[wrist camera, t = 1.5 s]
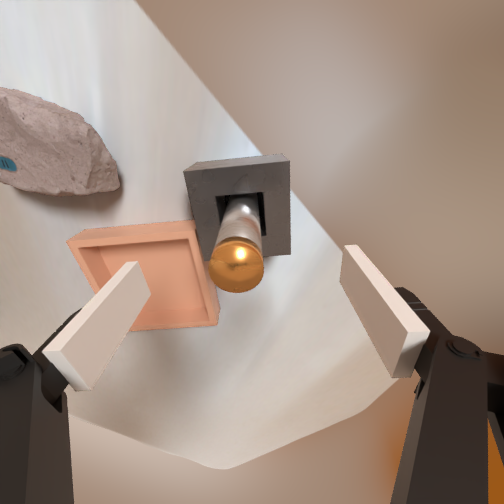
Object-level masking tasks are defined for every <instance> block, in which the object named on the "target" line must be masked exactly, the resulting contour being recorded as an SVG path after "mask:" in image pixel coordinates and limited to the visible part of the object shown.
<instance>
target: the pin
mask: <svg viewBox="0 0 504 504" xmlns="http://www.w3.org/2000/svg"><path fill="white" fill-rule="evenodd" d="M208 272H209V276H210V278H211V280H212V281H213V283H214V284H215V285H216V286H218V287H219V288H221V289H223V290H225V291H228V292H232V293H241V292H246V291H249V290H251V289H253V288H254V287H256V286H257V285H258V284H259V283H260V281H261V279H262V277H263V273H264V267H263V255H262V242H261V230H260V218H259V206H258V196H257V194H256V192H254V193H244V194H233V195H230V198H229V201H228V205H227V208H226V211H225V214H224V217H223V221H222V224H221V227H220V230H219V233H218V237H217V240H216V243H215V246H214V249H213V253H212V256H211V259H210V262H209V266H208Z"/></svg>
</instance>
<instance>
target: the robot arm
mask: <svg viewBox="0 0 504 504" xmlns="http://www.w3.org/2000/svg"><path fill="white" fill-rule="evenodd" d="M340 283H341V285H342V287H343V289H344V291H345V293H346V294H347V296H348V298H349V300H350V302H351V304H352V306H353V307H354V309H355V311H356V313H357V315H358V317H359V318H360V320H361V322H362V324H363V326H364V328H365V330H366V331H367V333H368V335H369V337H370V339H371V341H372V343H373V344H374V346H375V348H376V350H377V352H378V354H379V355H380V357H381V359H382V361H383V363H384V365H385V367H386V368H387V370H388V372H389V374H390V376H391V378H404V377H405V378H407V377H411V376H412V373H413V371H414V369H416V371H417V373H418V374H419V376H420V377H421V378H420V381H419V383H418V385H417V387H416V389H415V391H414V393H416V396H415V400H414V405H413V409H412V414H411V417H410V422H409V426H408V430H407V434H406V439H405V443H404V447H403V451H402V456H401V460H400V465H399V468H398V473H397V477H396V482H395V485H394V490H393V494H392V498H391V503H390V504H488V420H489V423H490V426H491V429H492V432H493V435H494V438H495V441H496V444H497V447H498V450H499V453H500V456H501V459H502V462H503V465H504V355H499V354H494V353H488V352H484V351H482V350H481V349H480V348H479V347H478V346H476V345H475V344H474V343H472V342H470V341H468V340H466V339H464V338H462V337H458V336H454V335H452V334H451V333H450V332H449V331H448V330H447V329H446V327H445V326H444V325H443V324H442V323H441V322H440V321H439V320H438V319H437V318H436V317H435V316H434V315H433V314H432V313H431V312H430V311H429V310H427V307H426V306H425V305H424V304H423V303H421V301H420V300H419V299H418V298H417V297H416V296H415V295H414V294H413V293H412V292H410V291H408V290H407V289H405V288H403V287H401V288H400V287H399V288H393V287H392V286H391V284H390V283H389V282H388V281H387V280H386V279H385V277H384V276H383V275H382V274H381V273H380V271H379V270H378V269H377V268H376V267H375V266H374V265H373V263H372V262H371V261H370V260H369V259H368V258H367V256H366V255H365V254H364V253H363V252H362V251H361V249H360V248H359V247H358V246H357V245H346V246H344V249H343V258H342V266H341V274H340ZM150 295H151V292H150V290H149V287H148V285H147V282H146V280H145V278H144V275H143V273H142V270H141V268H140V265H139V263H138V261H133V262H126V263H125V264H124V265H123V266H122V267H121V268H120V269H119V270H118V272H117V273H116V274H115V275H114V276H113V277H112V278H111V279H110V280H109V281H108V282H107V283H106V284H105V285H104V286H103V287H102V288H101V289H100V291H99V292H98V293H97V294H96V295H95V296H94V297H93V298H92V299H91V300H90V301H89V302H88V303H87V304H86V305H85V306H84V307H83V308H81V309H80V310H78V311H77V312H75V313H74V314H72V315H71V316H70V317H69V318H68V319H67V320H66V321H65V322H64V323H63V325H61V326H60V327H59V328H58V329H57V330H56V332H54V333H53V334H52V335H51V336H50V337H49V338H48V339H47V340H46V341H45V343H44V344H43V345H42V346H41V347H40V348H39V349H38V350H37V351H36V352H35V353H34V354H33V355H31V354H30V353H29V352H28V351H27V349H26V348H25V347H24V346H23V345H21V344H12V345H9V346H6V347H3V348H1V349H0V504H74V497H73V482H72V467H71V451H70V437H69V422H68V407H67V396H66V393H65V392H64V389H65V388H66V387H67V385H68V384H70V386H71V387H72V388H73V389H74V390H75V391H91V390H92V389H93V387H94V386H95V384H96V382H97V381H98V379H99V378H100V376H101V374H102V373H103V371H104V369H105V368H106V366H107V365H108V363H109V361H110V360H111V358H112V357H113V355H114V353H115V352H116V350H117V348H118V347H119V345H120V344H121V342H122V340H123V339H124V337H125V336H126V334H127V332H128V331H129V329H130V327H131V326H132V324H133V323H134V321H135V319H136V318H137V316H138V315H139V313H140V311H141V310H142V308H143V307H144V305H145V303H146V302H147V300H148V298H149V297H150ZM487 419H488V420H487Z"/></svg>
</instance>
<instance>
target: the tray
mask: <svg viewBox="0 0 504 504" xmlns="http://www.w3.org/2000/svg"><path fill="white" fill-rule="evenodd" d="M66 243H67V244H68V246H69V248H70V250H71V252H72V253H73V255H74V257H75V259H76V260H77V262H78V264H79V266H80V268H81V269H82V271H83V273H84V275H85V276H86V278H87V280H88V282H89V284H90V285H91V287H92V289H93V291H94V293H95V294H97V293H98V292H99V291H100V289H101V288H102V287H103V286H104V285H105V284H106V283H107V282H108V281H109V280H110V279H111V278H112V277H113V276H114V275H115V274H116V273H117V272H118V270H119V269H120V268H121V267H122V266H123V265H124V264H125V263H126V262H133V261H138V263H139V265H140V268H141V270H142V273H143V275H144V278H145V280H146V282H147V285H148V287H149V290H150V292H151V295H150V297H149V298H148V300H147V302H146V303H145V305H144V307H143V308H142V310H141V311H140V313H139V315H138V316H137V318H136V319H135V321H134V323H133V324H132V326H131V327H130V329H129V331H139V330H154V329H169V328H184V327H199V326H214V325H217V324H218V319H219V313H220V305H219V301H218V296H217V292H216V287H215V284H214V283H213V281H212V280H211V278H210V276H209V272H208V266H209V262H210V261H204V259H203V254H202V250H201V246H200V242H199V237H198V233H197V229H196V224H195V220H185V221H174V222H163V223H151V224H140V225H129V226H118V227H107V228H95V229H85V230H83V231H82V232H80V233H78V234H77V235H75V236H74V237H72V238H70V239H69V240H67V241H66Z"/></svg>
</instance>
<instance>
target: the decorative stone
mask: <svg viewBox="0 0 504 504" xmlns="http://www.w3.org/2000/svg"><path fill="white" fill-rule="evenodd" d="M0 182H2V183H4V184H8V185H11V186H14V187H16V188H19V189H22V190H24V191H29V192H36V193H40V194H44V195H50V196H57V197H62V196H73V195H78V196H85V195H89V194H92V193H96V192H107V191H115V190H116V189H118V188H119V187H120V182H119V179H118V174H117V165H116V162H115V160H114V159H112V156H111V154H110V153H109V151H108V150H107V148H106V146H105V144H104V143H103V141H102V139H101V137H100V136H99V134H98V133H97V132H96V131H95V130H94V128H93V127H92V126H91V125H90V124H87V123H86V122H84V118H83V117H82V116H81V115H79V114H78V113H75V112H72V111H69V110H67V109H65V108H63V107H60V106H58V105H56V104H55V103H51V102H47V101H43V100H42V99H41V98H40V97H36V96H33V95H31V94H28V93H25V92H22V91H19V90H15V89H13V90H11V89H7V88H3V87H0Z"/></svg>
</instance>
